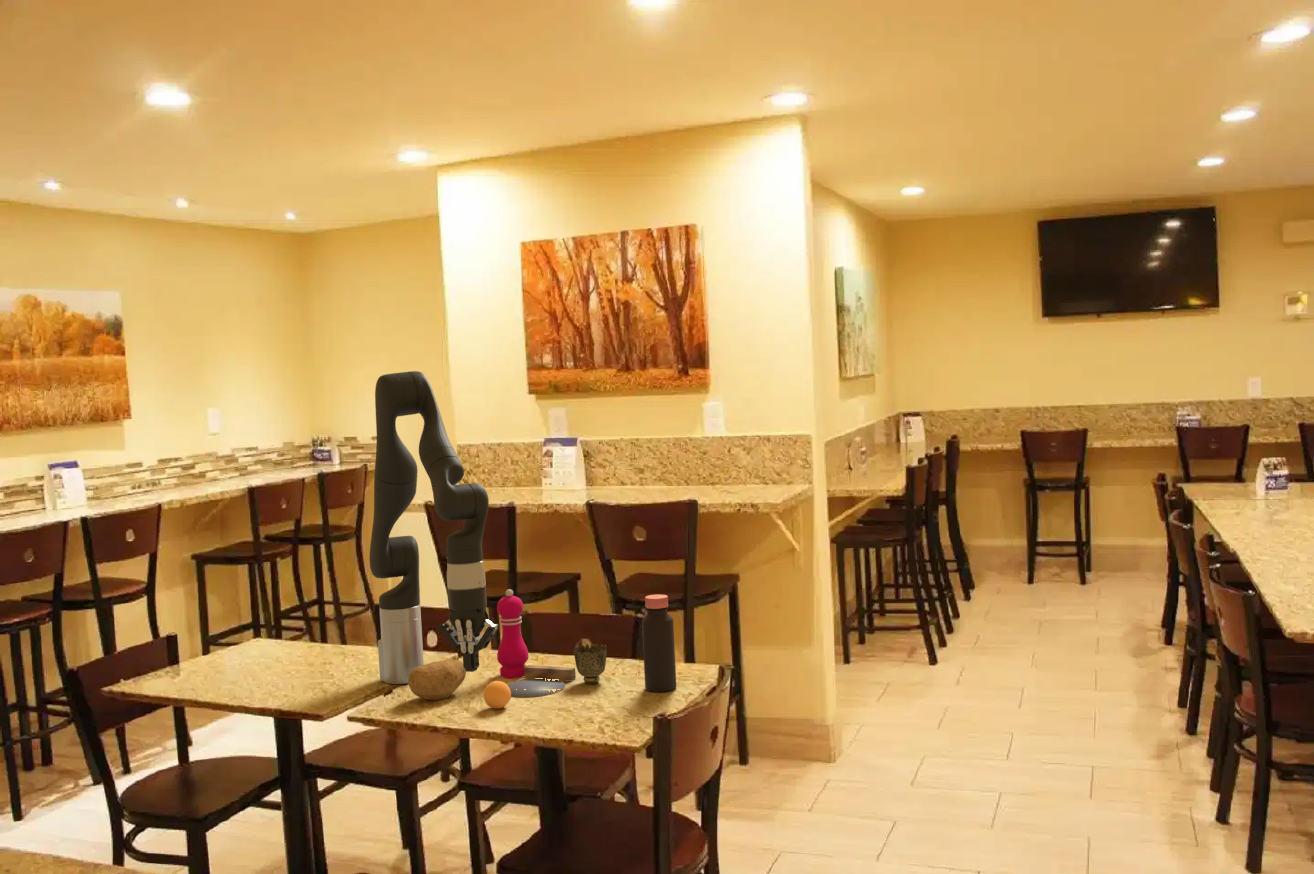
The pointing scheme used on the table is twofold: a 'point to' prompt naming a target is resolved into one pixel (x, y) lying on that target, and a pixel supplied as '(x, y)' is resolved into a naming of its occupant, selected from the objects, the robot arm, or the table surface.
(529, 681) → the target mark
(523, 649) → the pepper mill
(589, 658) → the cup
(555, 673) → the strip
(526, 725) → the table surface
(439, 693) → the potato
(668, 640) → the bottle
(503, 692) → the ball
